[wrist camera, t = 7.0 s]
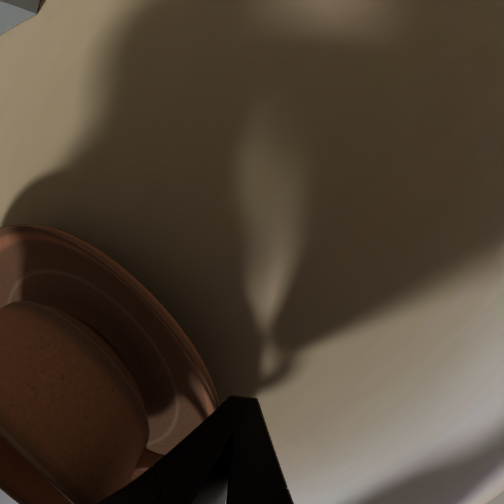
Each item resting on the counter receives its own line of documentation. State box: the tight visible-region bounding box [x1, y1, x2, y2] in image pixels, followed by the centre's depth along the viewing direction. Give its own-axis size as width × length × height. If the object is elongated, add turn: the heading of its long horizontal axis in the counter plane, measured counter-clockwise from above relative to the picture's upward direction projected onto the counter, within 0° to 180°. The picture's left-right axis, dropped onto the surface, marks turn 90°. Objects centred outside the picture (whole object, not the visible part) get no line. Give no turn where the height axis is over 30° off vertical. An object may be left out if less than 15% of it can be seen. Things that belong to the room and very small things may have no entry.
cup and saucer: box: [0, 224, 220, 504], centre depth 8 cm, size 12×12×6 cm
